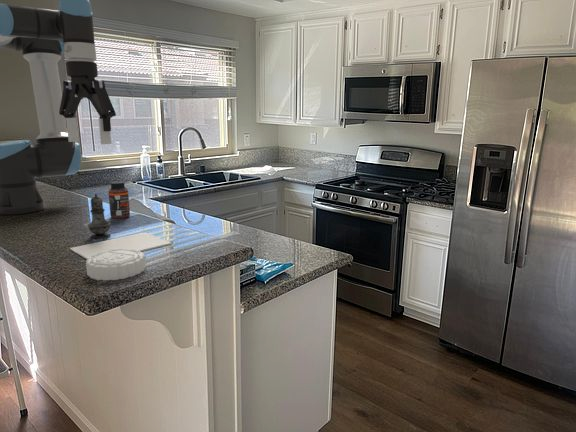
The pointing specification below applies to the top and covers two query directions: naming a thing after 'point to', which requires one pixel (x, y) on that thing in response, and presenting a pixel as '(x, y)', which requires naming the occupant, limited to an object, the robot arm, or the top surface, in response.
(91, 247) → the board
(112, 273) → the mooncake
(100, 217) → the salt shaker
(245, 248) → the top surface
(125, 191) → the supplement bottle
